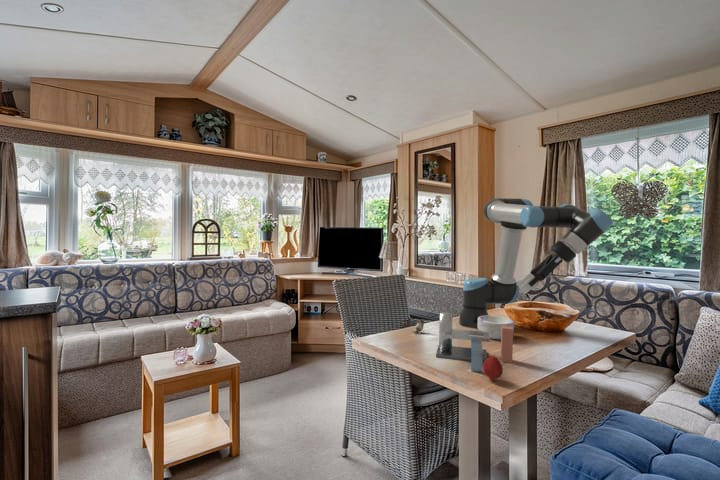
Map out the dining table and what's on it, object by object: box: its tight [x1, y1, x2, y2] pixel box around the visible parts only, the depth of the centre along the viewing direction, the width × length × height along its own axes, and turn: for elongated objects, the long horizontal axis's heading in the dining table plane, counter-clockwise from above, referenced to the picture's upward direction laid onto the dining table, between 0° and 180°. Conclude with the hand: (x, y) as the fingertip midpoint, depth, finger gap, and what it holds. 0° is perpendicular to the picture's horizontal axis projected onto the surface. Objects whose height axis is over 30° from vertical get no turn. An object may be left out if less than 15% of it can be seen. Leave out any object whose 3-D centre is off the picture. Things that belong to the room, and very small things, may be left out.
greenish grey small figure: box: [411, 319, 425, 335], centre depth 162 cm, size 5×5×6 cm
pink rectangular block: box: [500, 326, 514, 364], centre depth 127 cm, size 4×4×12 cm
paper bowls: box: [477, 314, 515, 340], centre depth 158 cm, size 15×15×8 cm
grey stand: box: [435, 311, 491, 373], centre depth 128 cm, size 18×22×15 cm
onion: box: [482, 354, 504, 381], centre depth 110 cm, size 6×6×8 cm
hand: (520, 289), depth 126 cm, fingers open, 13 cm apart
